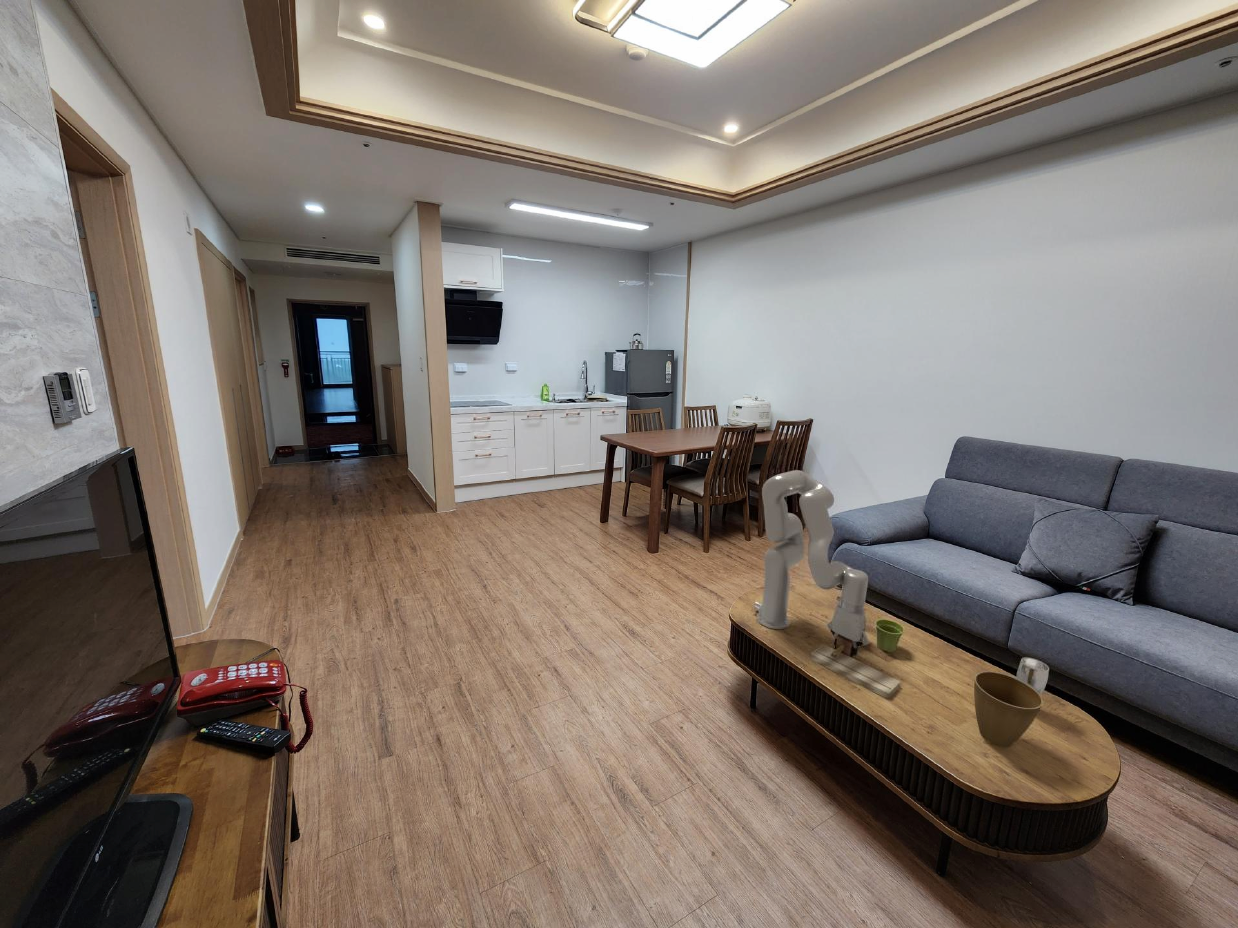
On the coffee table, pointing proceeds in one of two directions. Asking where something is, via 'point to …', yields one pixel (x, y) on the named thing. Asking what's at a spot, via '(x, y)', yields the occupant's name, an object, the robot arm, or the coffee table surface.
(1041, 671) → the beer glass
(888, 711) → the coffee table surface
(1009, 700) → the plant pot
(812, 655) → the board
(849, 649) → the cube with stick handle
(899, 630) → the plant pot
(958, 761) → the coffee table surface
